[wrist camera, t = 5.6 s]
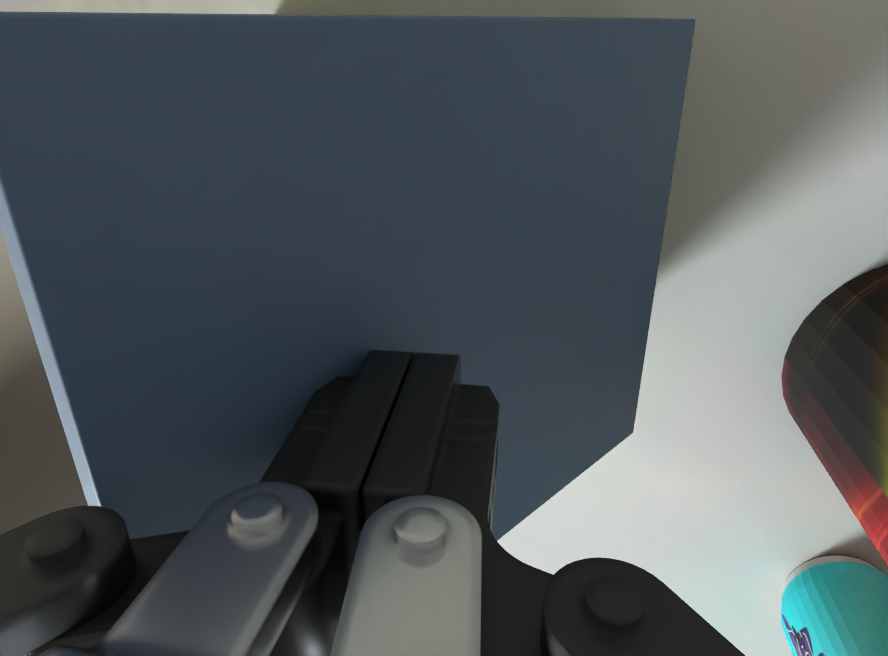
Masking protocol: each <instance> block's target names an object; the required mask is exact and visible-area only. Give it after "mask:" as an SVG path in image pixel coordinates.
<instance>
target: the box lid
mask: <svg viewBox="0 0 888 656" xmlns="http://www.w3.org/2000/svg"><path fill="white" fill-rule="evenodd" d="M694 27H695V20H694V19H660V18H563V17H465V16H368V15H271V14H174V13H77V12H0V229H1V232H2V236H3V239H4V242H5V245H6V248H7V251H8V254H9V258H10V261H11V264H12V267H13V270H14V273H15V276H16V279H17V283H18V286H19V289H20V292H21V295H22V299H23V301H24V305H25V308H26V311H27V314H28V317H29V320H30V324H31V327H32V330H33V333H34V336H35V340H36V342H37V346H38V349H39V352H40V355H41V358H42V361H43V365H44V368H45V371H46V374H47V377H48V380H49V383H50V386H51V390H52V393H53V396H54V399H55V403H56V405H57V409H58V412H59V415H60V418H61V421H62V425H63V428H64V431H65V434H66V437H67V440H68V443H69V447H70V450H71V453H72V456H73V459H74V462H75V465H76V469H77V472H78V475H79V478H80V481H81V484H82V488H83V491H84V494H85V497H86V500H87V503H88V506H100V507H106V508H109V509H112V510H114V511H115V512H117V513H118V514H119V515H120V516H121V517H122V518H123V519H124V521H125V524H126V527H127V530H128V534H129V537H130V539H134V538H141V537H148V536H155V535H161V534H168V533H175V532H182V531H187V530H191V529H192V528H193V526H194V525H195V524H196V523H197V521H198V520H199V519H200V518H201V516H202V515H203V514H204V513H205V511H206V510H207V509H208V508H209V507H210V506H211V505H212V504H213V503H215V502H216V501H217V500H218V499H220V498H221V497H223V496H224V495H226V494H228V493H230V492H232V491H234V490H236V489H239V488H242V487H244V486H248V485H252V484H256V483H259V482H260V480H261V478H262V477H263V475H264V474H265V472H266V470H267V469H268V467H269V466H270V464H271V462H272V461H273V459H274V457H275V456H276V454H277V453H278V451H279V449H280V448H281V446H282V445H283V443H284V441H285V440H286V438H287V436H288V435H289V433H290V432H291V430H294V425H295V424H296V422H297V420H298V419H299V417H300V415H301V414H303V413H304V409H305V407H306V406H307V404H308V403H309V401H310V399H311V398H312V396H313V394H314V393H315V391H317V390H318V389H320V388H321V387H323V386H324V385H325V384H327V383H328V382H330V381H331V380H333V379H334V378H336V377H338V376H342V377H356V375H357V373H358V371H359V369H360V367H361V365H362V363H363V361H364V360H365V358H366V356H367V354H368V352H369V351H370V350H387V351H403V352H414V353H416V352H422V353H439V354H455V355H460V359H461V384H464V385H479V386H489V388H490V389H491V391H492V393H493V394H494V396H495V397H496V399H497V401H498V402H499V404H500V408H499V434H498V459H497V482H496V492H495V502H494V513H493V522H492V534H493V536H494V538H495V539H496V541H497V540H498V539H500V538H501V537H502V536H503V535H505V534H506V533H507V532H509V531H510V530H511V529H512V528H514V527H515V526H516V525H517V524H519V523H520V522H521V521H522V520H524V519H525V518H526V517H527V516H529V515H530V514H531V513H532V512H534V511H535V510H536V509H537V508H539V507H540V506H541V505H542V504H544V503H545V502H546V501H547V500H549V499H550V498H551V497H553V496H554V495H555V494H556V493H558V492H559V491H560V490H561V489H563V488H564V487H565V486H566V485H568V484H569V483H570V482H571V481H573V480H574V479H575V478H576V477H578V476H579V475H580V474H581V473H583V472H584V471H585V470H586V469H588V468H589V467H590V466H592V465H593V464H594V463H595V462H597V461H598V460H599V459H600V458H602V457H603V456H604V455H605V454H607V453H608V452H609V451H610V450H612V449H613V448H614V447H615V446H617V445H618V444H619V443H620V442H622V441H623V440H624V439H625V438H627V437H628V436H629V435H631V434H632V433H633V429H634V422H635V416H636V409H637V402H638V396H639V389H640V383H641V376H642V370H643V363H644V356H645V350H646V343H647V337H648V330H649V323H650V317H651V310H652V304H653V297H654V290H655V284H656V277H657V271H658V264H659V257H660V251H661V244H662V238H663V231H664V224H665V218H666V211H667V205H668V198H669V191H670V185H671V178H672V172H673V165H674V158H675V152H676V145H677V139H678V132H679V125H680V119H681V112H682V106H683V99H684V93H685V86H686V79H687V73H688V66H689V60H690V53H691V46H692V40H693V33H694Z"/></svg>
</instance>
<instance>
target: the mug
mask: <svg viewBox="0 0 888 656" xmlns="http://www.w3.org/2000/svg"><path fill="white" fill-rule="evenodd" d="M782 386H783V396H784V399H785V401H786V404H787V407H788V410H789V412H790V414H791V416H792V417H793V419H794V420H795V422H796V423H797V425H798V426H799V428H800V430H801V431H802V433H803V434H804V436H805V437H806V439H807V441H808V442H809V444H810V445H811V447H812V448H813V450H814V452H815V453H816V455H817V456H818V458H819V459H820V461H821V463H822V464H823V466H824V467H825V469H826V470H827V472H828V473H829V475H830V477H831V478H832V480H833V481H834V483H835V484H836V486H837V488H838V489H839V491H840V492H841V494H842V495H843V497H844V499H845V500H846V502H847V503H848V505H849V506H850V508H851V510H852V511H853V513H854V514H855V516H856V517H857V519H858V520H859V522H860V524H861V525H862V527H863V528H864V530H865V531H866V533H867V535H868V536H869V538H870V539H871V541H872V542H873V544H874V546H875V547H876V549H877V550H878V552H879V553H880V555H881V557H882V558H883V560H884V561H885V563H886V564H887V566H888V265H885V266H882V267H880V268H877V269H874V270H871V271H868V272H866V273H864V274H862V275H861V276H859V277H857V278H855V279H853V280H851V281H849V282H847V283H846V284H844V285H842V286H841V287H840V288H838V289H837V290H836V291H834V292H833V293H832V294H830V295H829V296H828V297H826V298H825V299H824V300H822V301H821V302H820V303H819V305H818V306H817V307H816V308H815V309H814V310H813V311H812V312H811V313H810V314H809V315H808V316H807V317H806V318H805V320H804V321H803V323H802V324H801V326H800V327H799V329H798V330H797V332H796V333H795V335H794V336H793V338H792V340H791V343H790V345H789V348H788V350H787V353H786V355H785V359H784V365H783V371H782Z"/></svg>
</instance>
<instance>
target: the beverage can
mask: <svg viewBox="0 0 888 656" xmlns="http://www.w3.org/2000/svg"><path fill="white" fill-rule="evenodd" d="M781 622H782V626H783V630H784V633H785V635H786V638H787V640H788V643H789V645H790V648H791V650H792V653H793V655H794V656H888V576H887V575H885V574H884V573H883V572H881V571H880V570H878V569H877V568H875V567H874V566H872V565H871V564H869V563H868V562H865V561H863V560H861V559H857V558H854V557H849V556H843V555H830V556H823V557H818V558H815V559H812V560H809V561H807V562H805V563H803V564H801V565H800V566H799V567H797V568H796V569H795V570H794V571H793V572H792V573H791V574H790V575H789V577H788V578H787V580H786V581H785V584H784V587H783V592H782V606H781Z"/></svg>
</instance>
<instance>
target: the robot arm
mask: <svg viewBox="0 0 888 656" xmlns="http://www.w3.org/2000/svg"><path fill="white" fill-rule="evenodd" d="M499 408H500V404H499V402H498V401H497V399H496V397H495V396H494V394H493V393H492V391H491V389H490V388H489V386H479V385H464V384H461V359H460V355H455V354H439V353H422V352H416V353H414V352H403V351H387V350H370V351H369V352H368V354H367V356H366V358H365V360H364V361H363V363H362V365H361V367H360V369H359V371H358V373H357V375H356V377H342V376H338V377H336V378H334V379H333V380H331V381H330V382H328V383H327V384H325V385H324V386H323V387H321V388H320V389H318V390H317V391H315V393H314V394H313V396H312V398H311V399H310V401H309V403H308V404H307V406H306V407H305V409H304V413H303V414H301V415H300V417H299V419H298V420H297V422H296V424H295V425H294V430H291V432H290V433H289V435H288V436H287V438H286V440H285V441H284V443H283V445H282V446H281V448H280V449H279V451H278V453H277V454H276V456H275V457H274V459H273V461H272V462H271V464H270V466H269V467H268V469H267V470H266V472H265V474H264V475H263V477H262V478H261V480H260V482H259V483H256V484H252V485H248V486H244V487H242V488H239V489H236V490H234V491H232V492H230V493H228V494H226V495H224V496H223V497H221V498H220V499H218V500H217V501H216V502H215V503H213V504H212V505H211V506H210V507H209V508H208V509H207V510H206V511H205V513H204V514H203V515H202V516H201V518H200V519H199V520H198V521H197V523H196V524H195V525H194V526H193V528H192V529H191V530H187V531H182V532H175V533H168V534H161V535H155V536H148V537H141V538H134V539H130V537H129V534H128V530H127V527H126V524H125V521H124V519H123V518H122V517H121V516H120V515H119V514H118V513H117V512H115V511H114V510H112V509H109V508H106V507H100V506H79V507H72V508H67V509H63V510H59V511H56V512H53V513H50V514H48V515H45V516H42V517H40V518H38V519H35V520H33V521H31V522H29V523H26V524H24V525H22V526H19V527H17V528H15V529H13V530H10V531H8V532H6V533H3V534H1V535H0V656H745V655H744V654H743V653H742V652H740V651H739V650H738V649H737V648H736V647H735V646H734V645H733V644H731V643H730V642H729V641H728V640H727V639H726V638H725V637H724V636H722V635H721V634H720V633H719V632H718V631H717V630H716V629H715V628H713V627H712V626H711V625H710V624H709V623H708V622H707V621H705V620H704V619H703V618H702V617H701V616H700V615H699V614H698V613H696V612H695V611H694V610H693V609H692V608H691V607H690V606H689V605H687V604H686V603H685V602H684V601H683V600H682V599H681V598H680V597H678V596H677V595H676V594H675V593H674V592H673V591H672V590H671V589H669V588H668V587H667V586H666V585H665V584H664V583H663V582H661V581H660V580H659V579H657V578H656V577H655V576H654V575H652V574H650V573H649V572H647V571H645V570H644V569H642V568H640V567H637V566H635V565H633V564H630V563H627V562H624V561H620V560H615V559H610V558H587V559H583V560H578V561H575V562H572V563H570V564H567V565H566V566H564V567H563V568H561V569H559V570H558V571H557V572H556V573H555V574H554V575H552V574H550V573H547V572H544V571H542V570H539V569H536V568H534V567H532V566H529V565H527V564H525V563H523V562H521V561H519V560H518V559H516V558H514V557H513V556H512V555H510V554H509V553H508V552H507V551H505V550H504V549H503V548H502V547H501V546H500V544H499V543H498V542H497V541H496V539H495V538H494V536H493V534H492V522H493V513H494V502H495V492H496V482H497V459H498V434H499Z"/></svg>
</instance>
